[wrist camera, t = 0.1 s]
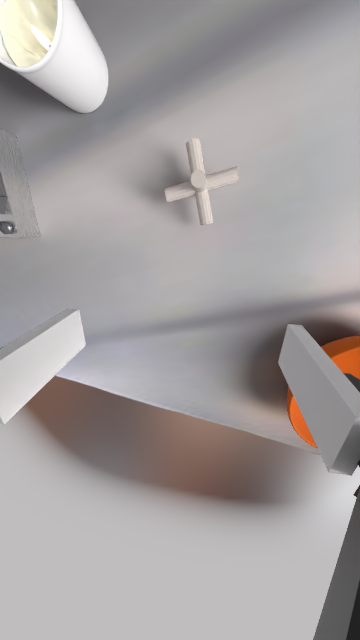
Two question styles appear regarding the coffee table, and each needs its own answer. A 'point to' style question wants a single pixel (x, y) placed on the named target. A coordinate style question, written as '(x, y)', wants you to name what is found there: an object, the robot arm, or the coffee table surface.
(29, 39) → the candle holder
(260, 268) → the coffee table surface
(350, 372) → the bowl
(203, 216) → the pipe connector
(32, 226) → the cradle fixture plate
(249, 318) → the coffee table surface
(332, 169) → the coffee table surface
